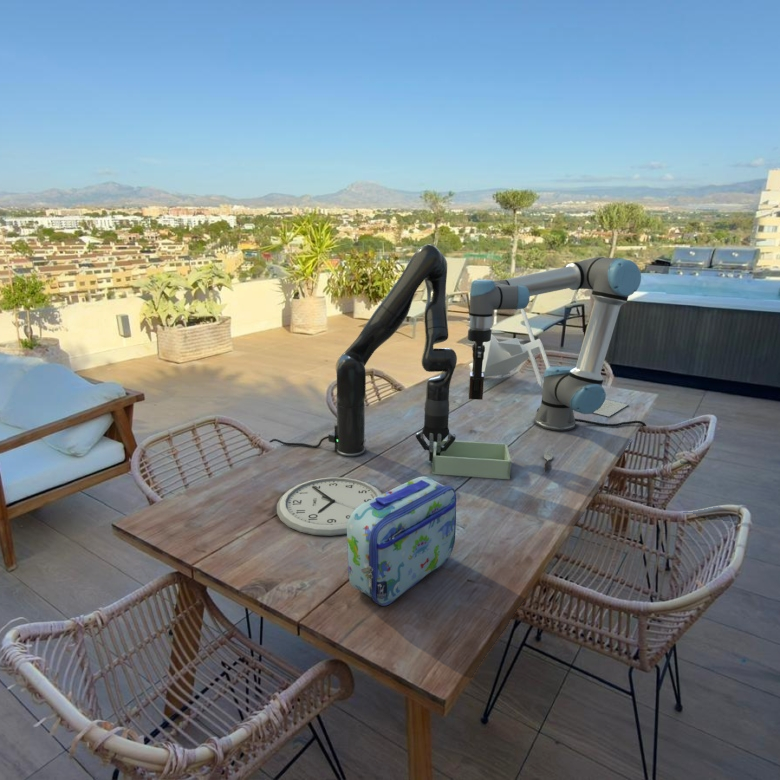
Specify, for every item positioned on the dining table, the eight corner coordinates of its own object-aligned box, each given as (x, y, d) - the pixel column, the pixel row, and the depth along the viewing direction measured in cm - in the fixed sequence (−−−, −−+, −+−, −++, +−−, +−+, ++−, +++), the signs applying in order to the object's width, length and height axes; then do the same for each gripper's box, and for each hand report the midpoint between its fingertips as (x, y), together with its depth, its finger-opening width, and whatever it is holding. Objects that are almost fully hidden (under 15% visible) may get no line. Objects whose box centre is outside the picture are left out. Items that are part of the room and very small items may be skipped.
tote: (505, 460, 172) (507, 443, 171) (509, 479, 159) (511, 461, 158) (433, 455, 175) (434, 439, 173) (432, 474, 162) (433, 456, 160)
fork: (540, 473, 163) (541, 467, 163) (544, 453, 178) (545, 448, 177) (549, 474, 162) (550, 468, 162) (552, 454, 177) (553, 449, 176)
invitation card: (608, 416, 214) (573, 407, 224) (608, 416, 214) (573, 408, 224) (628, 404, 229) (594, 396, 238) (628, 405, 229) (594, 397, 238)
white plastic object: (490, 419, 265) (470, 397, 240) (471, 347, 287) (451, 319, 262) (561, 395, 253) (548, 369, 228) (536, 321, 275) (521, 290, 250)
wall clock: (392, 527, 129) (268, 531, 127) (391, 533, 130) (269, 537, 127) (383, 473, 158) (282, 475, 155) (383, 478, 158) (282, 480, 156)
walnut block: (481, 395, 179) (483, 373, 176) (482, 399, 174) (484, 376, 172) (468, 395, 179) (469, 372, 177) (468, 399, 175) (470, 376, 172)
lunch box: (376, 619, 101) (377, 524, 95) (340, 592, 109) (339, 502, 102) (459, 562, 119) (465, 479, 113) (424, 542, 126) (427, 463, 120)
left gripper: (458, 408, 166) (455, 458, 171) (416, 406, 167) (414, 455, 172) (458, 416, 159) (455, 468, 164) (414, 414, 160) (412, 465, 165)
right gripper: (467, 323, 178) (463, 388, 185) (468, 333, 162) (464, 404, 169) (489, 324, 178) (485, 389, 185) (493, 334, 161) (488, 405, 168)
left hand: (434, 461), depth 168 cm, fingers closed on tote, 1 cm apart
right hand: (475, 396), depth 177 cm, fingers closed on walnut block, 4 cm apart
